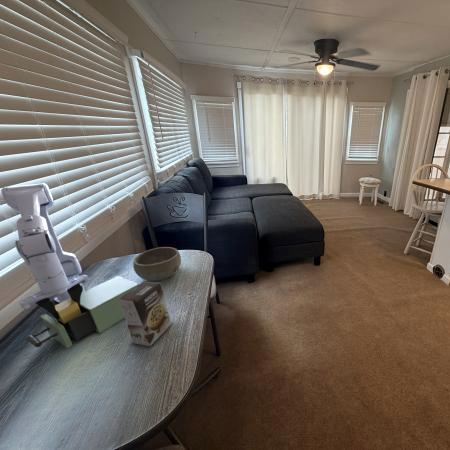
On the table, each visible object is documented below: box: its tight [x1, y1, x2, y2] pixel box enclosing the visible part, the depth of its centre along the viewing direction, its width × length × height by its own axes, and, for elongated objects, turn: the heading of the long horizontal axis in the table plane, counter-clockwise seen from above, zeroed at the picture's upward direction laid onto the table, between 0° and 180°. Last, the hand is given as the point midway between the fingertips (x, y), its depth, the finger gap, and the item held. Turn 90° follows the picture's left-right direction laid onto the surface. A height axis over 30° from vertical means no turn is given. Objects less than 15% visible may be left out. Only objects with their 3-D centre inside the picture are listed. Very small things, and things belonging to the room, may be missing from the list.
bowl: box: [132, 246, 182, 282], centre depth 104 cm, size 17×18×10 cm
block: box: [54, 299, 82, 323], centre depth 72 cm, size 4×4×4 cm
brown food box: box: [119, 280, 172, 347], centre depth 72 cm, size 9×6×16 cm
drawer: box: [26, 306, 97, 349], centre depth 73 cm, size 18×11×7 cm, turn 154°
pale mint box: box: [70, 275, 140, 333], centre depth 82 cm, size 15×13×9 cm
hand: (67, 312), depth 72 cm, fingers closed on block, 4 cm apart
